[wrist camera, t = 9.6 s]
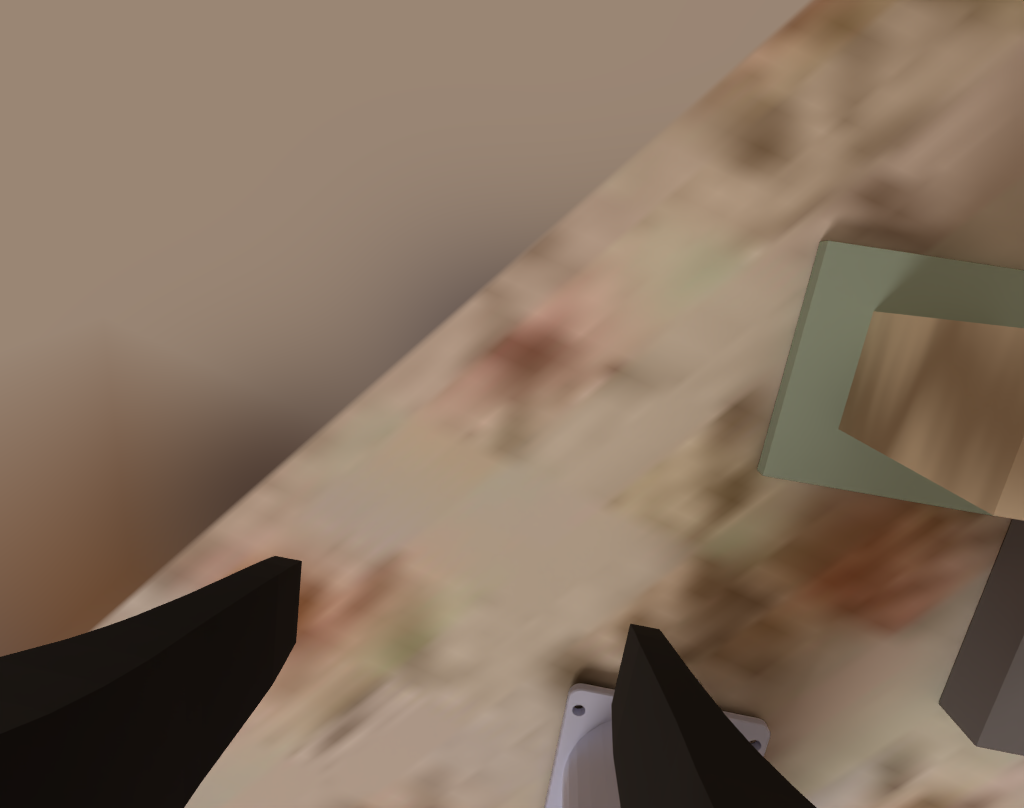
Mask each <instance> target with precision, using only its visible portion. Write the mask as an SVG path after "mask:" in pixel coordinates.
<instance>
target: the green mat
mask: <svg viewBox="0 0 1024 808" xmlns="http://www.w3.org/2000/svg"><path fill="white" fill-rule="evenodd" d="M873 311H876V312H885V313H894V314H903V315H911V316H920V317H929V318H938V319H946V320H955V321H964V322H973V323H981V324H990V325H999V326H1008V327H1017V328H1024V270H1019V269H1012V268H1006V267H999V266H992V265H986V264H979V263H973V262H966V261H960V260H953V259H946V258H940V257H933V256H927V255H920V254H913V253H907V252H900V251H894V250H887V249H880V248H874V247H867V246H861V245H854V244H847V243H841V242H834V241H822V242H820V243H819V247H818V251H817V254H816V258H815V262H814V265H813V269H812V272H811V276H810V280H809V283H808V287H807V291H806V294H805V298H804V302H803V305H802V309H801V312H800V316H799V320H798V323H797V327H796V331H795V334H794V338H793V341H792V345H791V349H790V352H789V356H788V360H787V363H786V367H785V370H784V374H783V378H782V381H781V385H780V389H779V392H778V396H777V399H776V403H775V407H774V410H773V414H772V418H771V421H770V425H769V428H768V432H767V436H766V439H765V443H764V447H763V450H762V454H761V457H760V461H759V465H758V468H757V470H758V471H759V472H760V473H761V474H762V475H763V476H768V477H773V478H779V479H785V480H790V481H796V482H802V483H808V484H813V485H819V486H825V487H831V488H836V489H842V490H848V491H853V492H859V493H865V494H871V495H876V496H882V497H888V498H893V499H899V500H905V501H911V502H916V503H922V504H928V505H934V506H939V507H945V508H951V509H956V510H962V511H968V512H974V513H979V514H985V515H991V516H993V515H992V514H990V513H988V512H986V511H984V510H983V509H981V508H979V507H977V506H975V505H974V504H972V503H970V502H968V501H966V500H965V499H963V498H961V497H959V496H957V495H956V494H954V493H952V492H950V491H948V490H947V489H945V488H943V487H941V486H940V485H938V484H936V483H934V482H932V481H931V480H929V479H927V478H925V477H923V476H922V475H920V474H918V473H916V472H914V471H913V470H911V469H909V468H907V467H905V466H904V465H902V464H900V463H898V462H896V461H895V460H893V459H891V458H889V457H888V456H886V455H884V454H882V453H880V452H879V451H877V450H875V449H873V448H871V447H870V446H868V445H866V444H864V443H862V442H861V441H859V440H857V439H855V438H853V437H852V436H850V435H848V434H846V433H844V432H843V431H841V430H839V429H838V428H839V425H840V422H841V418H842V415H843V412H844V408H845V405H846V402H847V398H848V395H849V392H850V388H851V385H852V382H853V378H854V375H855V371H856V368H857V365H858V361H859V358H860V355H861V351H862V348H863V345H864V341H865V338H866V335H867V331H868V328H869V325H870V321H871V318H872V315H873ZM996 517H998V516H996Z"/></svg>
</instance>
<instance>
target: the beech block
mask: <svg viewBox="0 0 1024 808" xmlns="http://www.w3.org/2000/svg"><path fill="white" fill-rule="evenodd" d="M838 429H839V430H841V431H843V432H844V433H846V434H848V435H850V436H852V437H853V438H855V439H857V440H859V441H861V442H862V443H864V444H866V445H868V446H870V447H871V448H873V449H875V450H877V451H879V452H880V453H882V454H884V455H886V456H888V457H889V458H891V459H893V460H895V461H896V462H898V463H900V464H902V465H904V466H905V467H907V468H909V469H911V470H913V471H914V472H916V473H918V474H920V475H922V476H923V477H925V478H927V479H929V480H931V481H932V482H934V483H936V484H938V485H940V486H941V487H943V488H945V489H947V490H948V491H950V492H952V493H954V494H956V495H957V496H959V497H961V498H963V499H965V500H966V501H968V502H970V503H972V504H974V505H975V506H977V507H979V508H981V509H983V510H984V511H986V512H988V513H990V514H992V515H993V516H999V517H1005V518H1011V519H1017V520H1023V521H1024V328H1017V327H1008V326H999V325H990V324H981V323H973V322H964V321H955V320H946V319H938V318H929V317H920V316H911V315H903V314H894V313H885V312H876V311H873V315H872V318H871V321H870V325H869V328H868V331H867V335H866V338H865V341H864V345H863V348H862V351H861V355H860V358H859V361H858V365H857V368H856V371H855V375H854V378H853V382H852V385H851V388H850V392H849V395H848V398H847V402H846V405H845V408H844V412H843V415H842V418H841V422H840V425H839V428H838Z"/></svg>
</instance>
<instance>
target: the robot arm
mask: <svg viewBox="0 0 1024 808" xmlns="http://www.w3.org/2000/svg"><path fill="white" fill-rule="evenodd" d="M301 565H302V561H299V560H294V559H288V558H283V557H278V556H274V557H271V558H268V559H266V560H263V561H261V562H258V563H256V564H254V565H252V566H249V567H247V568H245V569H243V570H241V571H238V572H236V573H234V574H232V575H230V576H228V577H225V578H223V579H221V580H219V581H216V582H214V583H212V584H210V585H208V586H205V587H203V588H201V589H199V590H197V591H194V592H192V593H190V594H188V595H185V596H183V597H180V598H178V599H175V600H173V601H171V602H168V603H166V604H163V605H161V606H158V607H156V608H153V609H151V610H149V611H146V612H144V613H141V614H139V615H136V616H134V617H131V618H128V619H126V620H123V621H120V622H117V623H114V624H112V625H109V626H106V627H103V628H100V629H97V630H94V631H91V632H88V633H85V634H81V635H78V636H75V637H72V638H69V639H65V640H62V641H58V642H55V643H51V644H47V645H43V646H40V647H36V648H32V649H28V650H25V651H21V652H17V653H14V654H10V655H6V656H2V657H0V808H184V807H185V805H186V804H187V802H188V801H189V799H190V798H191V797H192V795H193V794H194V792H195V791H196V789H197V788H198V786H199V785H200V783H201V782H202V781H203V779H204V778H205V777H206V775H207V774H208V772H209V771H210V770H211V768H212V767H213V766H214V764H215V763H216V762H217V760H218V759H219V757H220V756H221V755H222V753H223V752H224V751H225V749H226V748H227V747H228V745H229V744H230V742H231V741H232V740H233V738H234V737H235V736H236V734H237V733H238V732H239V730H240V729H241V728H242V726H243V725H244V723H245V722H246V721H247V719H248V718H249V717H250V715H251V714H252V712H253V711H254V710H255V708H256V707H257V706H258V704H259V703H260V701H261V700H262V699H263V697H264V696H265V694H266V693H267V692H268V690H269V689H270V687H271V686H272V684H273V683H274V681H275V679H276V677H277V676H278V674H279V672H280V671H281V669H282V667H283V665H284V663H285V662H286V660H287V658H288V656H289V654H290V652H291V650H292V649H293V647H294V645H295V643H296V635H297V621H298V607H299V593H300V579H301ZM576 705H581V706H583V708H581V709H577V708H575V707H574V706H576ZM769 739H770V731H769V728H768V726H767V724H766V722H765V721H763V720H762V719H759V718H755V717H750V716H745V715H740V714H735V713H730V712H725V711H722V710H721V709H720V708H719V707H718V705H717V704H716V703H715V702H714V700H713V699H712V698H711V697H710V695H709V694H708V693H707V692H706V690H705V689H704V688H703V687H702V685H701V684H700V683H699V681H698V680H697V679H696V678H695V676H694V675H693V674H692V672H691V671H690V670H689V668H688V667H687V666H686V664H685V663H684V662H683V660H682V659H681V658H680V656H679V655H678V654H677V652H676V651H675V650H674V648H673V647H672V645H671V644H670V643H669V641H668V640H667V639H666V637H665V636H664V635H663V633H662V632H661V631H660V630H659V629H655V628H650V627H644V626H639V625H634V624H630V628H629V632H628V636H627V640H626V645H625V649H624V653H623V657H622V662H621V666H620V670H619V675H618V679H617V683H616V687H615V690H614V689H609V688H604V687H599V686H593V685H588V684H583V683H578V684H575V685H573V686H572V687H571V688H570V689H569V692H568V697H567V701H566V706H565V711H564V716H563V720H562V725H561V730H560V735H559V739H558V744H557V749H556V754H555V758H554V763H553V768H552V773H551V777H550V782H549V787H548V791H547V796H546V801H545V806H544V808H816V807H815V806H814V805H813V804H812V803H811V802H810V801H809V800H808V799H806V798H805V797H804V796H803V795H802V794H801V793H800V792H799V791H798V790H797V789H796V788H794V787H793V786H792V785H791V784H790V783H789V782H788V781H787V780H786V779H785V778H784V777H783V776H782V775H781V774H780V773H779V772H778V771H777V770H776V769H775V768H774V767H773V766H772V765H771V764H770V763H769V762H768V761H767V760H766V759H765V758H764V754H765V751H766V748H767V745H768V742H769ZM752 740H757V741H756V742H754V743H750V741H752Z"/></svg>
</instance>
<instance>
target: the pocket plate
mask: <svg viewBox="0 0 1024 808" xmlns="http://www.w3.org/2000/svg"><path fill="white" fill-rule="evenodd" d="M939 705H940V706H941V707H942V708H943V709H944V710H945V712H946V713H947V714H948V715H949V716H950V717H951V718H952V720H953V721H954V722H955V723H956V724H957V725H958V726H959V728H960V729H961V730H962V731H963V732H964V733H965V734H966V736H967V737H968V738H969V739H970V740H971V741H972V742H973V744H974V745H975V746H977V747H982V748H987V749H992V750H997V751H1002V752H1007V753H1012V754H1018V755H1023V756H1024V521H1023V520H1017V519H1013V520H1012V522H1011V525H1010V527H1009V530H1008V532H1007V535H1006V537H1005V540H1004V542H1003V545H1002V547H1001V549H1000V552H999V554H998V557H997V559H996V562H995V564H994V567H993V569H992V572H991V574H990V577H989V579H988V582H987V584H986V587H985V589H984V592H983V594H982V597H981V599H980V602H979V604H978V607H977V609H976V612H975V614H974V617H973V619H972V622H971V624H970V627H969V629H968V632H967V634H966V637H965V639H964V642H963V644H962V647H961V649H960V652H959V654H958V657H957V659H956V662H955V664H954V667H953V669H952V672H951V674H950V677H949V679H948V682H947V684H946V687H945V689H944V691H943V694H942V696H941V699H940V701H939Z"/></svg>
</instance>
